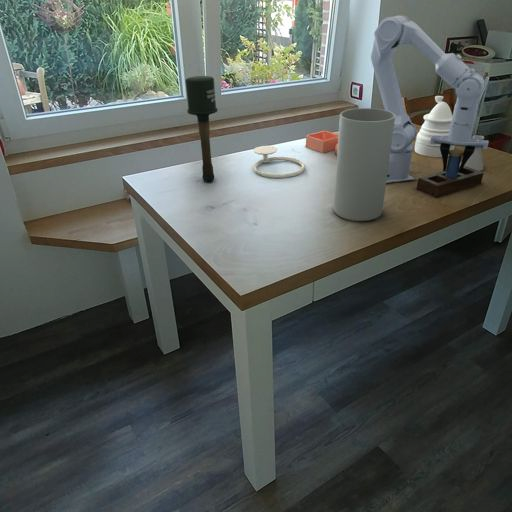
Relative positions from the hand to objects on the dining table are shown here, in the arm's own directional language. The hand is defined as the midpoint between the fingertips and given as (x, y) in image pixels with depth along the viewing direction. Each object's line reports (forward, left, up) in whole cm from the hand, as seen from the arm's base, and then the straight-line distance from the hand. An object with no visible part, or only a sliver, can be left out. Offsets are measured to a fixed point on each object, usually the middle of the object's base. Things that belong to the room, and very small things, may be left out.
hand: (452, 170), depth 124 cm
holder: (0, 0, -5) cm, 5 cm away
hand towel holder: (-44, +30, -5) cm, 54 cm away
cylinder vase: (-32, -8, -5) cm, 33 cm away
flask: (+15, +11, -5) cm, 19 cm away
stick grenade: (-67, +25, -5) cm, 72 cm away
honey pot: (+13, +29, -5) cm, 32 cm away
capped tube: (0, 0, -3) cm, 3 cm away
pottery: (-20, +41, -5) cm, 46 cm away
